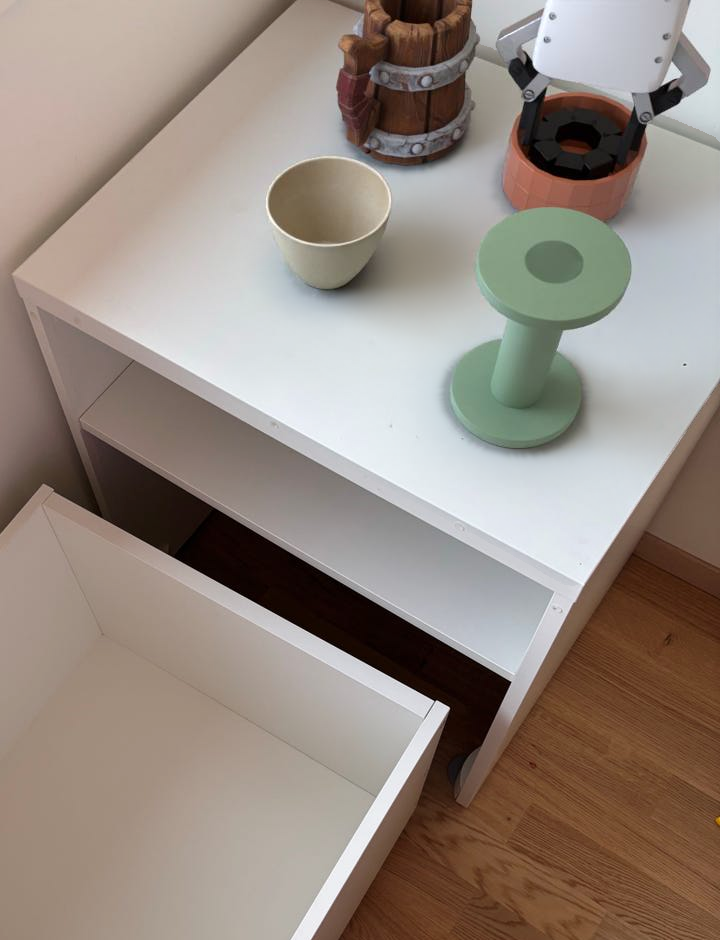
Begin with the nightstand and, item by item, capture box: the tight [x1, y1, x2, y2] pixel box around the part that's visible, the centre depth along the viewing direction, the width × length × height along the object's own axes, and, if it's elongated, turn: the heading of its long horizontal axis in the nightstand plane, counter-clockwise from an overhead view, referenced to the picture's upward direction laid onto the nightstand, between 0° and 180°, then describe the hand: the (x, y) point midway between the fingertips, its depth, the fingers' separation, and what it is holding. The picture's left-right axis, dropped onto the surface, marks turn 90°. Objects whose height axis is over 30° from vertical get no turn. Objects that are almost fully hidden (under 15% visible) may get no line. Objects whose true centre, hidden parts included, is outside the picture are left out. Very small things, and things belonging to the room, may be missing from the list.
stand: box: [449, 207, 632, 449], centre depth 72 cm, size 10×10×14 cm
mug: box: [335, 0, 481, 166], centre depth 86 cm, size 12×14×15 cm
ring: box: [528, 107, 623, 181], centre depth 84 cm, size 7×7×2 cm
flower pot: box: [265, 155, 393, 290], centre depth 82 cm, size 10×10×7 cm
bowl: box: [501, 91, 648, 223], centre depth 85 cm, size 11×11×5 cm
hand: (576, 143), depth 84 cm, fingers closed on ring, 7 cm apart
